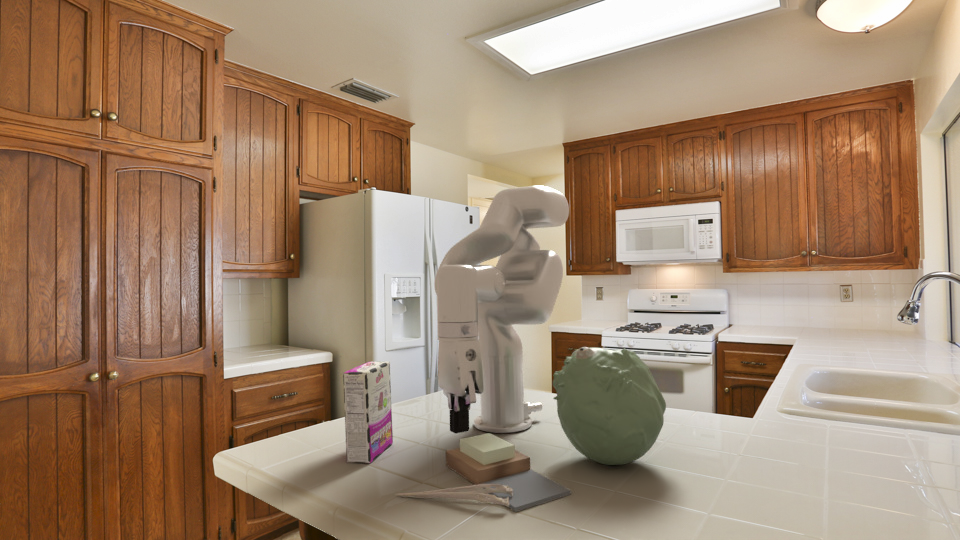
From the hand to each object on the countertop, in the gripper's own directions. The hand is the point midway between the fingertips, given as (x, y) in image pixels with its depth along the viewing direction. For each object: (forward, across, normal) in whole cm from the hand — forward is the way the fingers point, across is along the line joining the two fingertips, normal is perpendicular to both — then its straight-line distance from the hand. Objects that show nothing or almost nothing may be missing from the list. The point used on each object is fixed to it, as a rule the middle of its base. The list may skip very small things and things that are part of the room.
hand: (459, 431), depth 92 cm
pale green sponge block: (+1, -9, 0) cm, 9 cm away
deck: (+4, -9, -1) cm, 10 cm away
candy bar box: (+5, +11, +13) cm, 18 cm away
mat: (+5, -19, -1) cm, 20 cm away
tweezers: (+5, -16, +10) cm, 19 cm away
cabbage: (+4, -18, -20) cm, 27 cm away
